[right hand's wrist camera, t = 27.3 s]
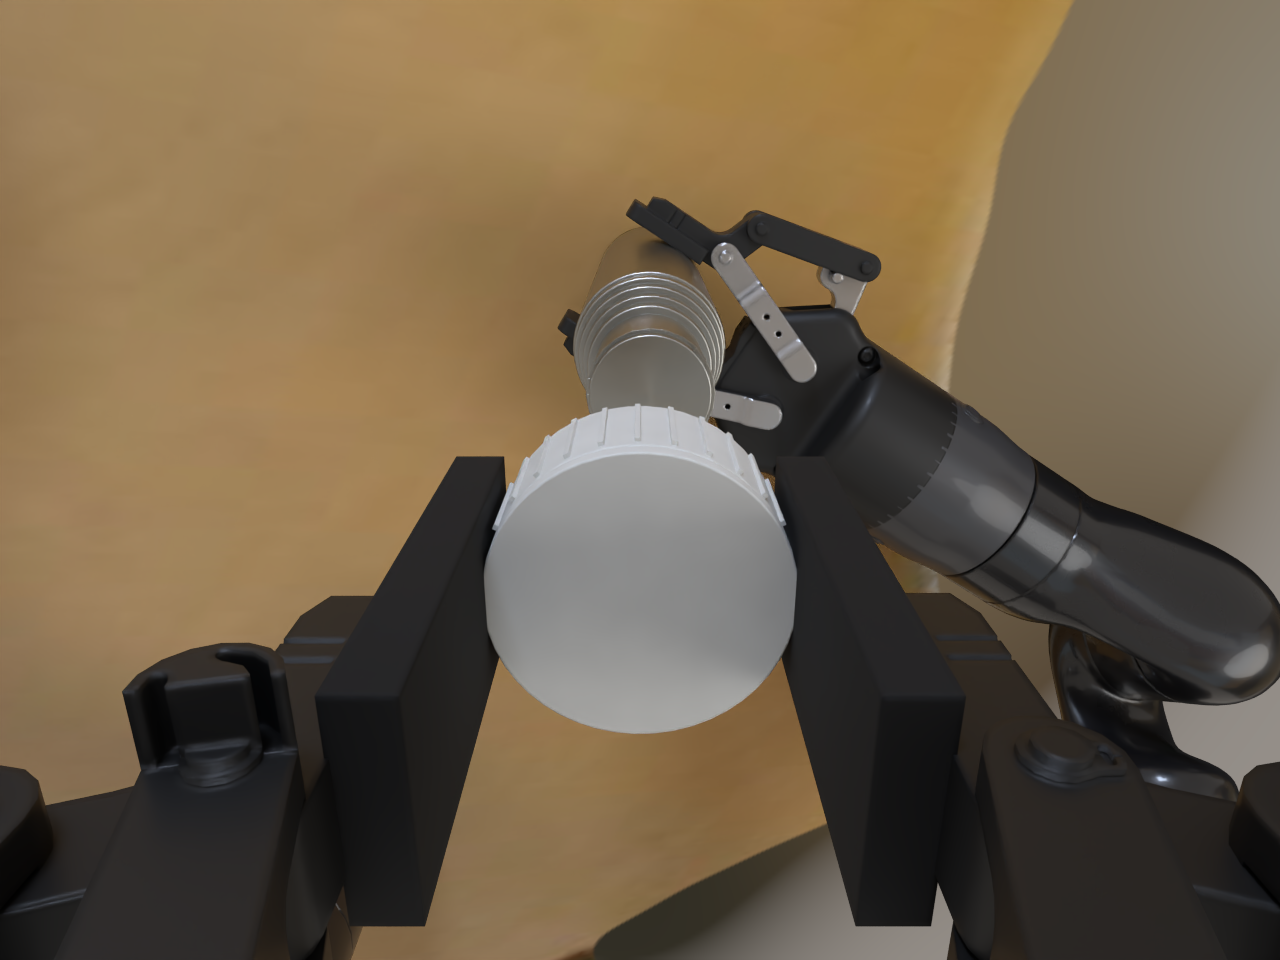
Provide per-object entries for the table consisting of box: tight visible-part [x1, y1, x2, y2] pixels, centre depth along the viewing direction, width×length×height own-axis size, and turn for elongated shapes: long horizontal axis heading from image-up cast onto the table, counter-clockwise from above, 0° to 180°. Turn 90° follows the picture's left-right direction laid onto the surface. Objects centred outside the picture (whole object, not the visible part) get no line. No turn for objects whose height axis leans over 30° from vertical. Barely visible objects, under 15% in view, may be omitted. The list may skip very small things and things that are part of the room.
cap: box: [484, 404, 797, 734], centre depth 13 cm, size 4×4×2 cm
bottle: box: [573, 227, 726, 422], centre depth 34 cm, size 5×5×23 cm
